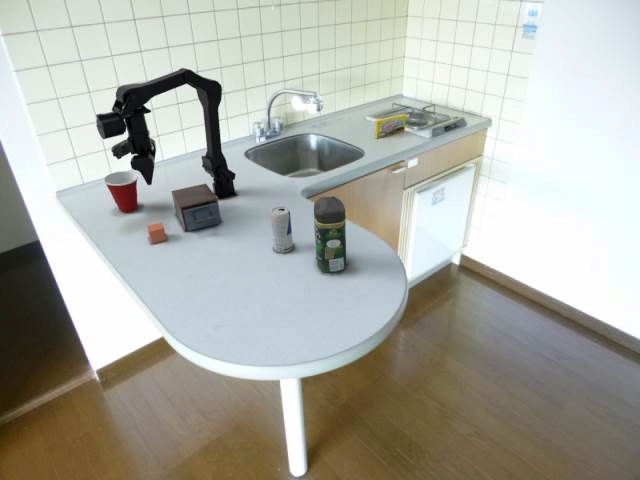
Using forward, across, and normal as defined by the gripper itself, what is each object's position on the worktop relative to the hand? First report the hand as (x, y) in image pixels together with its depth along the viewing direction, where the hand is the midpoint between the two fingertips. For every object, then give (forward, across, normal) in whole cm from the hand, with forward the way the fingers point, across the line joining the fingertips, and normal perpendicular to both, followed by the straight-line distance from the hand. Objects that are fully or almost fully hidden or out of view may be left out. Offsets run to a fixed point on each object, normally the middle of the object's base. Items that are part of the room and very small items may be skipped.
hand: (150, 179), depth 145 cm
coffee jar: (+14, +44, +46) cm, 65 cm away
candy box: (+15, -49, +100) cm, 113 cm away
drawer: (+13, +9, +13) cm, 20 cm away
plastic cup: (+14, -10, -10) cm, 20 cm away
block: (+14, +14, 0) cm, 20 cm away
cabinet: (+14, +5, +12) cm, 19 cm away
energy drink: (+14, +32, +35) cm, 49 cm away
